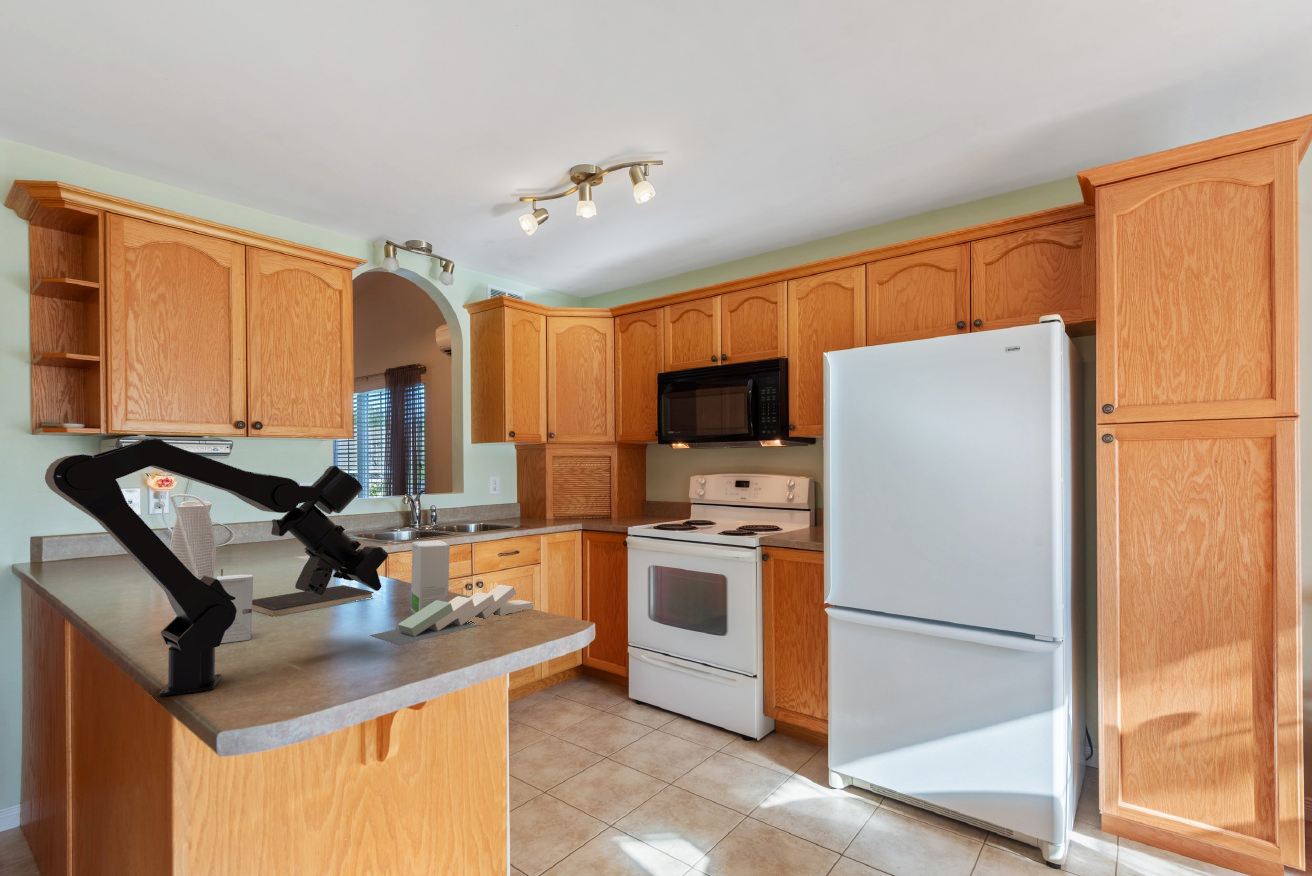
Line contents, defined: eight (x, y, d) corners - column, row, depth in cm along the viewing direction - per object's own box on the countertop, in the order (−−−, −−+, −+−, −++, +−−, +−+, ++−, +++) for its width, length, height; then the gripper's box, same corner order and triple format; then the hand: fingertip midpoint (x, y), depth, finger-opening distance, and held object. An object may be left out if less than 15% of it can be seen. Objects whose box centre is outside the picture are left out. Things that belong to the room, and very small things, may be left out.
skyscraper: (186, 643, 122) (188, 494, 123) (156, 640, 124) (158, 494, 125) (229, 631, 130) (230, 492, 131) (200, 629, 132) (201, 492, 133)
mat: (399, 647, 117) (399, 644, 117) (369, 637, 124) (369, 635, 124) (514, 618, 137) (514, 616, 137) (483, 611, 144) (483, 610, 144)
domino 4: (482, 611, 134) (513, 586, 141) (468, 608, 137) (499, 584, 144) (485, 619, 135) (516, 593, 141) (471, 615, 138) (502, 591, 144)
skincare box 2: (410, 611, 146) (410, 541, 146) (440, 607, 149) (440, 539, 150) (419, 618, 139) (419, 545, 139) (450, 614, 142) (450, 542, 143)
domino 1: (411, 628, 122) (450, 603, 128) (397, 624, 125) (436, 599, 132) (414, 636, 122) (453, 610, 129) (400, 632, 125) (439, 607, 132)
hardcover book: (373, 601, 160) (373, 591, 160) (273, 619, 142) (273, 609, 142) (342, 593, 170) (342, 584, 170) (244, 610, 152) (244, 600, 152)
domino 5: (500, 607, 138) (533, 602, 145) (486, 604, 141) (519, 599, 148) (500, 615, 137) (533, 610, 144) (485, 612, 141) (518, 607, 148)
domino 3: (458, 617, 130) (492, 594, 136) (443, 614, 133) (478, 591, 139) (461, 625, 130) (495, 601, 137) (446, 622, 133) (480, 599, 140)
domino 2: (435, 622, 126) (472, 598, 132) (421, 619, 129) (457, 595, 135) (438, 630, 126) (474, 606, 133) (424, 627, 129) (460, 603, 136)
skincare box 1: (213, 645, 120) (214, 579, 120) (214, 639, 124) (214, 576, 124) (252, 639, 123) (253, 575, 124) (252, 634, 127) (252, 572, 128)
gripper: (260, 565, 113) (323, 618, 121) (306, 576, 101) (373, 633, 109) (308, 517, 119) (365, 571, 127) (357, 522, 108) (417, 580, 116)
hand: (378, 588), depth 120 cm, fingers closed
